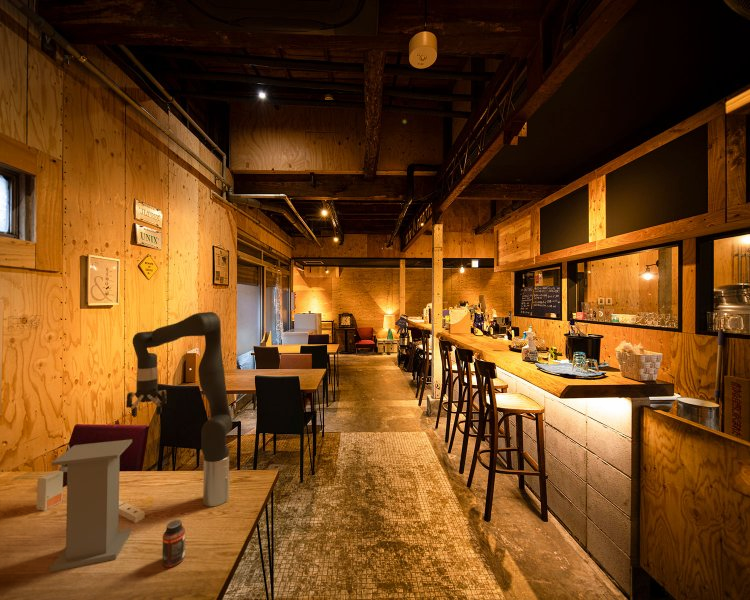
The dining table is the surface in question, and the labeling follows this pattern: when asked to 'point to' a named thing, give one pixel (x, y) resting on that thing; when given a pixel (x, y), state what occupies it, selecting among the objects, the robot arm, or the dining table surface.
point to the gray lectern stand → (92, 504)
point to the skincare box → (49, 490)
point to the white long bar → (130, 512)
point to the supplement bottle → (173, 544)
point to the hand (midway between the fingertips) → (146, 415)
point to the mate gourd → (64, 472)
